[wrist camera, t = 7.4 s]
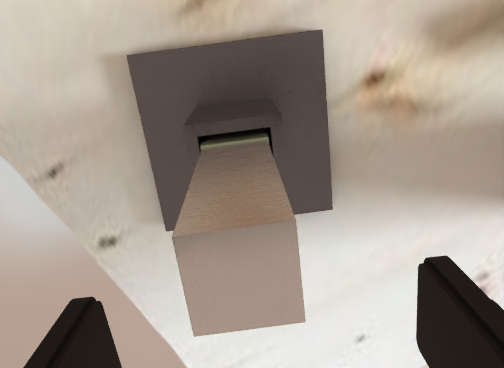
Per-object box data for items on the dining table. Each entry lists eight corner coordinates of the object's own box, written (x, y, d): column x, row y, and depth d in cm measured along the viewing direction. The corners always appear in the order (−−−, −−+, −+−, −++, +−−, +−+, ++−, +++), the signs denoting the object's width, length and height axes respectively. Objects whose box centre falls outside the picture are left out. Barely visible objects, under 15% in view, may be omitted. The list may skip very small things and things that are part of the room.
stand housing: (318, 30, 32) (353, 22, 22) (329, 203, 37) (360, 255, 28) (131, 55, 32) (87, 57, 23) (168, 224, 37) (146, 283, 28)
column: (263, 123, 27) (298, 217, 12) (269, 178, 29) (308, 323, 13) (205, 131, 27) (168, 234, 12) (214, 185, 29) (191, 339, 13)
